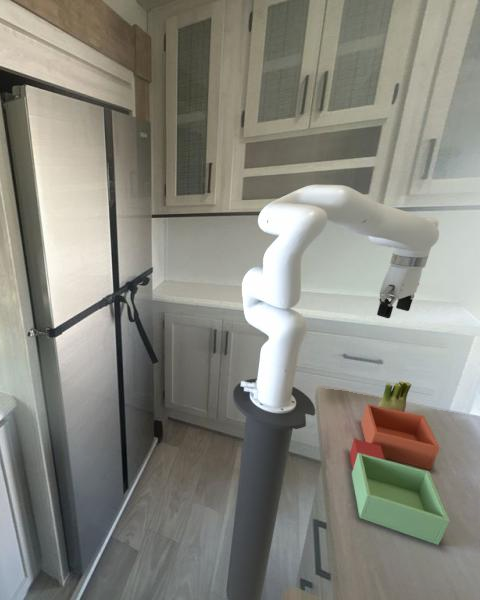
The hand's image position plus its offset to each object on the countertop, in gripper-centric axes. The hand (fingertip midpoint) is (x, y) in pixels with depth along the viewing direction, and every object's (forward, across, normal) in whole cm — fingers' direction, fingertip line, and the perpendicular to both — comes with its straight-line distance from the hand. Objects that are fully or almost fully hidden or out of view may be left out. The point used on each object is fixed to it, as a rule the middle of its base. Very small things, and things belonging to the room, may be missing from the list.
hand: (392, 313), depth 103 cm
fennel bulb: (+22, +21, +14) cm, 34 cm away
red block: (+22, +43, +21) cm, 52 cm away
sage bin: (+22, +49, +29) cm, 61 cm away
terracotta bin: (+21, +31, +20) cm, 43 cm away
